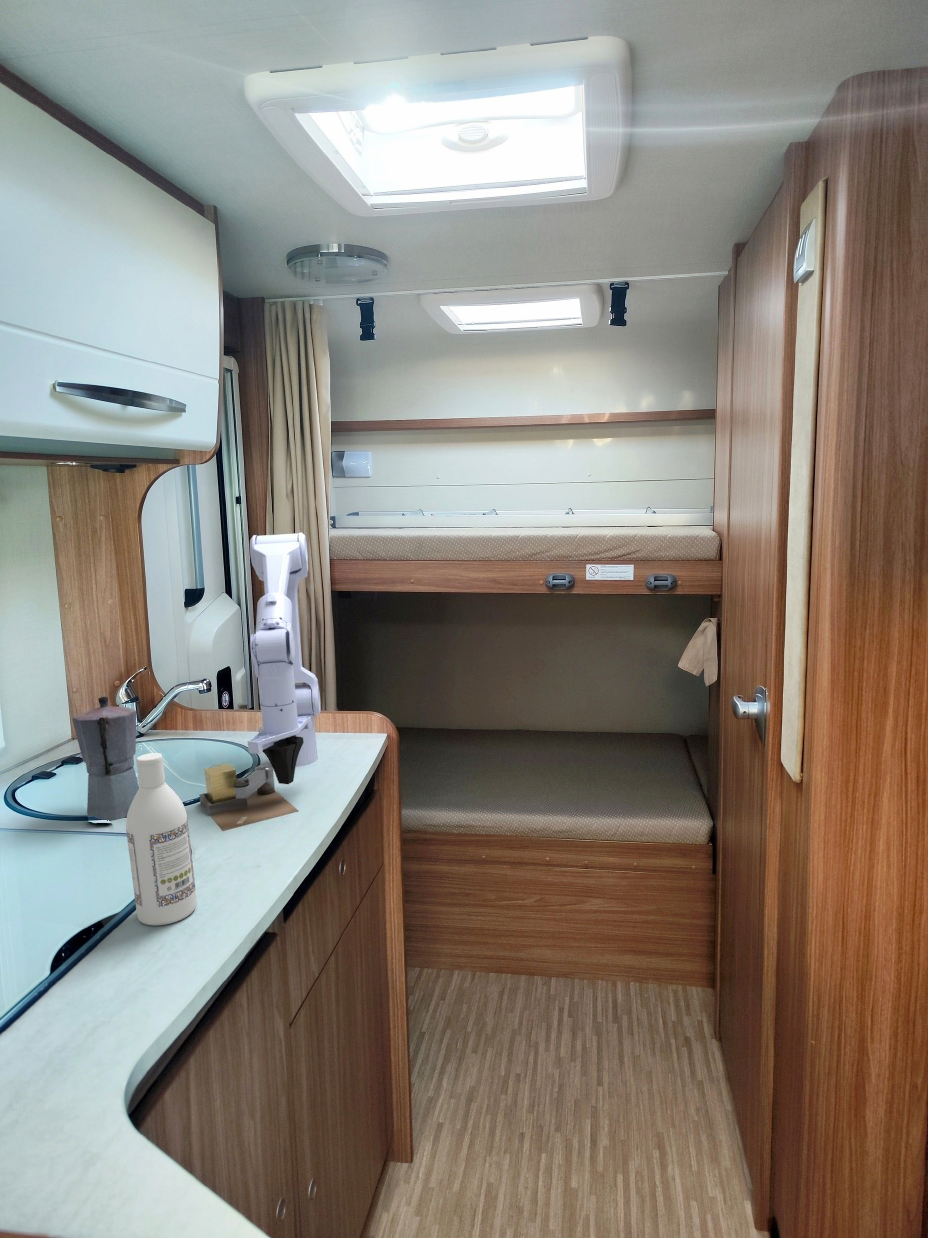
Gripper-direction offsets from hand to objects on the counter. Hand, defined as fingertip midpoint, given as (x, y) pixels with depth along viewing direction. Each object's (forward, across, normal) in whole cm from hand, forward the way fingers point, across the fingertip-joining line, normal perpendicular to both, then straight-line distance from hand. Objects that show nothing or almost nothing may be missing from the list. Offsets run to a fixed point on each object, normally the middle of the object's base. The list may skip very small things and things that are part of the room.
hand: (285, 782), depth 130 cm
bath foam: (+4, +34, +6) cm, 35 cm away
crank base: (+4, +5, -4) cm, 7 cm away
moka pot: (+4, +12, -25) cm, 28 cm away
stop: (+3, +5, -9) cm, 11 cm away
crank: (+3, +2, -5) cm, 6 cm away
